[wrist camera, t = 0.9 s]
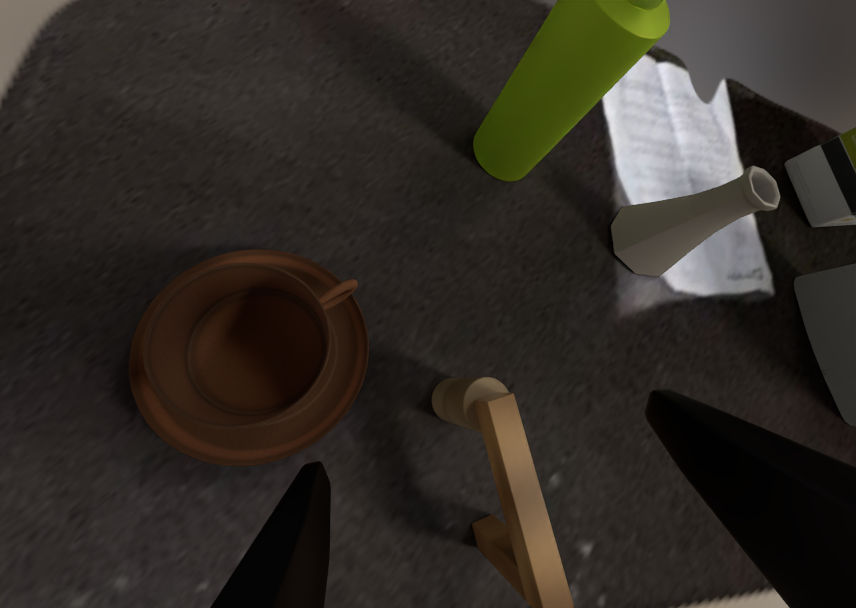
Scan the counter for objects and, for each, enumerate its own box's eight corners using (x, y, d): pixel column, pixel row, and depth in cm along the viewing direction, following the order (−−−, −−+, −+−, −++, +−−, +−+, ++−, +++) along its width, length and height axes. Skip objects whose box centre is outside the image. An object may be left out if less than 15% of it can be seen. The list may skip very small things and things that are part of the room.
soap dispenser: (527, 200, 29) (890, -122, 10) (462, 156, 28) (739, -291, 9) (547, 155, 31) (881, -183, 12) (487, 112, 30) (756, -327, 11)
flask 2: (668, 228, 34) (797, 171, 25) (661, 289, 32) (802, 251, 22) (613, 197, 32) (729, 123, 23) (603, 258, 30) (727, 204, 21)
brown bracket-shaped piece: (507, 534, 22) (585, 599, 15) (468, 554, 21) (534, 633, 14) (464, 373, 24) (519, 370, 17) (426, 384, 23) (469, 385, 16)
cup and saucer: (250, 225, 21) (224, 168, 16) (399, 329, 23) (424, 311, 17) (90, 383, 17) (-26, 384, 11) (285, 498, 19) (268, 550, 13)
